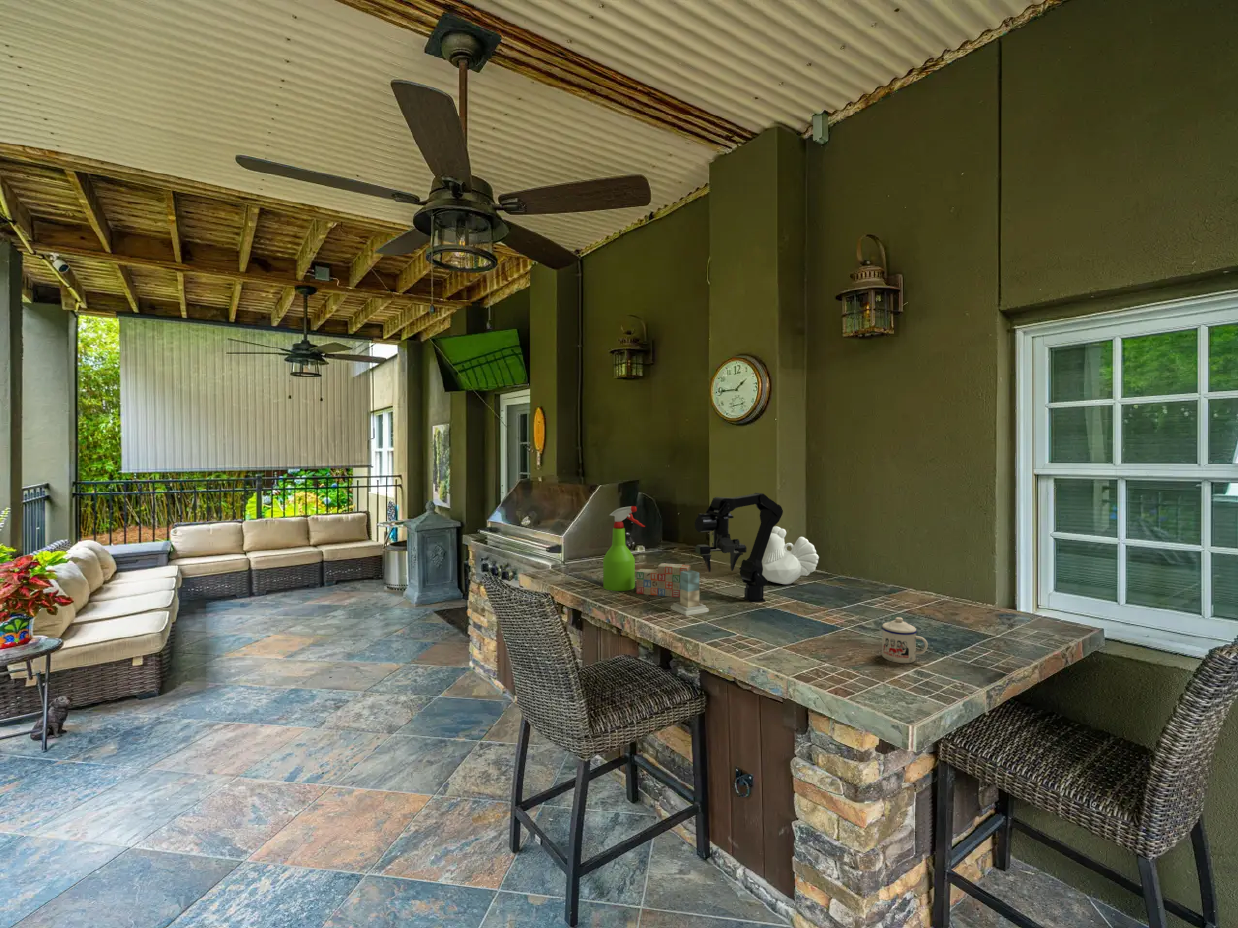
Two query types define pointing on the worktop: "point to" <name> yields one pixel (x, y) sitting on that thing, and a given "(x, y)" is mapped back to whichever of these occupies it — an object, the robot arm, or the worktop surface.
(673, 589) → the stack of blocks
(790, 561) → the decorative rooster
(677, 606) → the base plate
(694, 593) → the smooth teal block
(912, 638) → the teacup with lid
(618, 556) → the spray bottle
